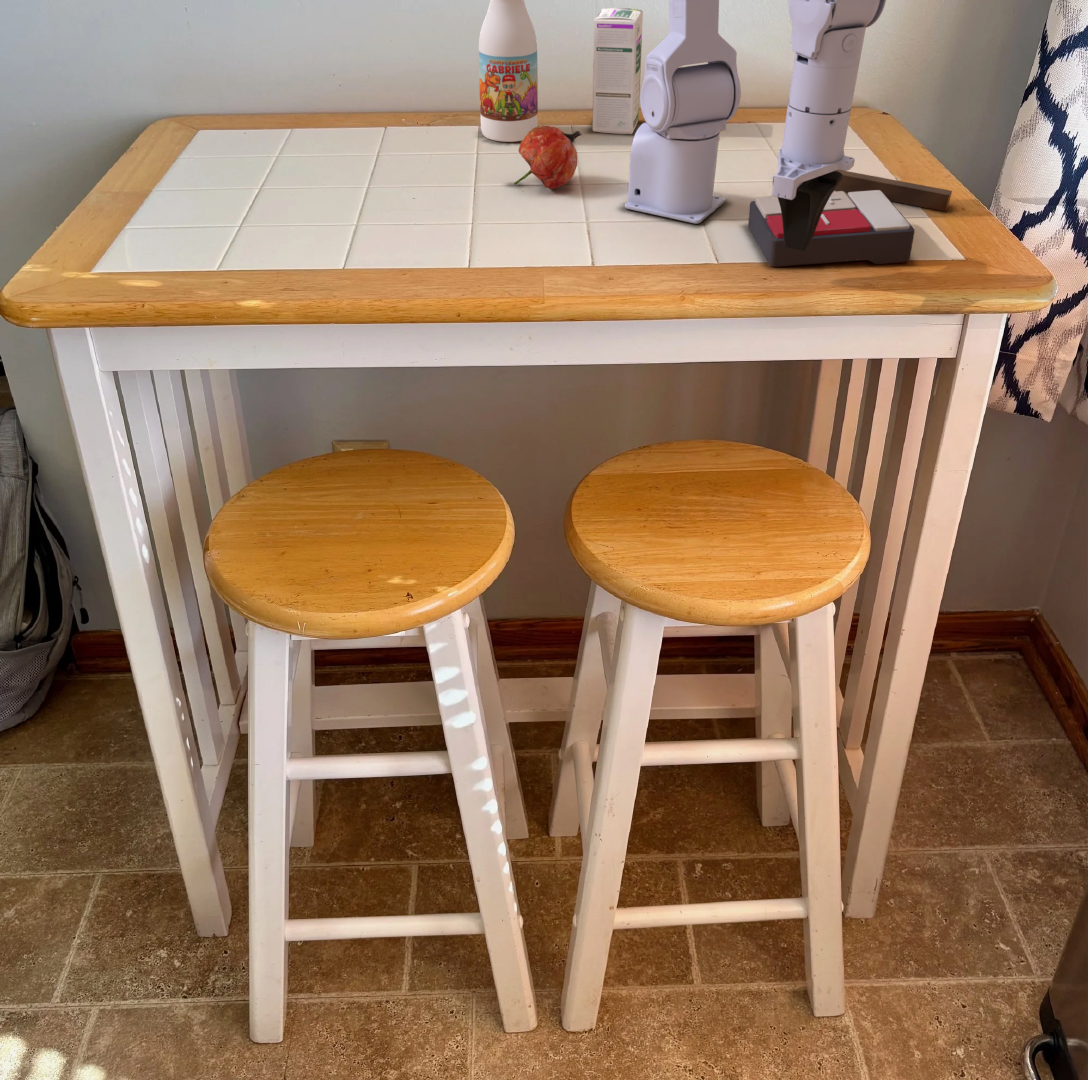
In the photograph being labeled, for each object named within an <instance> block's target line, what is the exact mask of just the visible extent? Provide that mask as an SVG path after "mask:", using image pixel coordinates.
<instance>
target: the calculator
mask: <svg viewBox="0 0 1088 1080" xmlns="http://www.w3.org/2000/svg"><path fill="white" fill-rule="evenodd" d="M747 222H748V224H747V226H748V229H749V231H750V232H751V235H752V236H753V238H754V240H755V242H756V244H757V246H758V247H759V250H760V251H761V252H762V254H763V256H764V258H765V259H766V260H765V261H767V263H768V266H770V267H771V268H778V267H790V266H792V267H793V266H803V265H804V266H805V265H817V264H830V263H842V262H843V263H844V262H857V261H869V262H871V263H873V264H874V265H886V264H899V263H907V262H909V261H910V259H911V253H912V250H913V249H912V248H913V242H914V237H915V232H916V230H915V228H914V227H913V225H912V224H911V223H910V222H909V221H908V219H907V218H905V216H904V215H903V214H902V212H900V211H899V209H898V208H897V207H896V206H895V205H894V203H893V201H890V200H889V199H888V198H887V197H886V196H885V194H884V193H883V192H881V191H880V190H872V191H859V192H849V193H846V192H843V191H837V190H835V191H833V193H832V194H831V196H830V198H829V200H828V201H827V203H826V205H825V207H824V210H823V212H822V214H821V217H820V219H819V222H818V225H817V227H816V230H815V233H814V235H813V238H812V240H811V242H810V244H809V246H808V247H807V248H806V249H805V250H804V251H802V250H797V249H793V248H788V247H785V243H784V235H783V222H782V213H781V208H780V204H779V200H778V197H775V196H772V195H771V196H758V197H755V200H752V201H750V203H749V211H748V221H747Z"/></svg>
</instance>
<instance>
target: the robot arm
mask: <svg viewBox="0 0 1088 1080" xmlns="http://www.w3.org/2000/svg"><path fill="white" fill-rule="evenodd" d="M886 3H887V0H788V4H787V5H788V13H789V17H790V21H791V27H792V30H791V39H790V44H791V49H792V51H793V52H795V53H794V60H793V66H792V75H791V80H790V88H789V94H788V100H787V101H788V102H787V107H786V115H785V123H784V129H783V137H782V143H781V148H780V149H779V151H778V154H777V155H778V156H777V172H776V173H775V174H774V176H773V178H772V190H771V196H775V197H778V200H779V204H780V208H781V213H782V222H783V235H784V243H785V247H788V248H793V249H797V250H802V251H804V250H805V249H806V248H807V247H808V246H809V244H810V242H811V240H812V238H813V235H814V233H815V230H816V227H817V225H818V222H819V219H820V217H821V214H822V212H823V210H824V207H825V205H826V203H827V201H828V200H829V198H830V196H831V194H832V193H833V192H835V191H836V190H835V188H836V187H837V185H838V184H839V183H840V181H841V180H842V174H841V173H840V172H838V171H836V170H844V171H850V170H852V168H853V167H854V166H855V159H856V158H855V157H852V156H848V155H846V154H845V144H846V139H847V135H848V129H849V124H850V123H849V122H850V117H851V112H852V107H853V101H854V96H855V91H856V84H857V80H858V73H859V69H860V62H861V56H862V51H863V46H864V42H865V41H864V40H865V35H866V29H867V28H869V27H871V26H873V25H874V24H875V23H876V22H877V21H878V20H879V19H880V17H881V15H882V13H883V12H884V8H885V5H886ZM719 13H720V0H668V34H667V35H666V37H664V38H663V39H662V40H661V41H660V43H658V44H657V45H656V46H655V47H654V48H653V49H652V50H651V51H650V52H649V53H648V54H647V55H646V56H645V59H644V61H645V62H644V63H645V64H644V77H643V80H642V84H641V86H640V96H639V105H640V110H641V114H642V116H643V119H644V121H645V122H643V123H642V124H641V125H640V126H639V127H638V128H637V130H636V132H635V134H634V136H633V139H632V143H631V147H630V153H629V170H628V187H627V188H628V189H627V201H626V202H624V208H625V209H627V210H630V211H631V210H632V211H636V212H640V213H645V214H650V215H655V216H659V217H663V218H668V219H672V220H677V221H681V222H686V223H691V224H695V225H696V224H700V223H701V222H703V221H704V220H705V219H706V218H707V217H709V216H710V215H711V214H712V213H714V212H715V211H716V210H717V209H718V208H719V207H721V206H722V205H723V204H725V201H726V199H725V198H724V197H722V196H716V195H714V190H715V180H716V171H717V160H718V153H719V152H718V151H719V142H720V135H721V134H720V133H721V132H723V131H727V122H729V121H731V120H732V119H733V118H734V116H735V115H736V113H737V111H738V108H739V106H740V102H741V97H742V87H741V81H740V77H739V74H738V67H737V66H738V65H737V55H738V54H737V53H738V52H737V51H736V49H735V48H734V47H733V46H732V45H730V43H729V42H728V41H727V40H726V39H725V38H723V37H722V36H721V34H720V33H719V19H720V15H719Z"/></svg>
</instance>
